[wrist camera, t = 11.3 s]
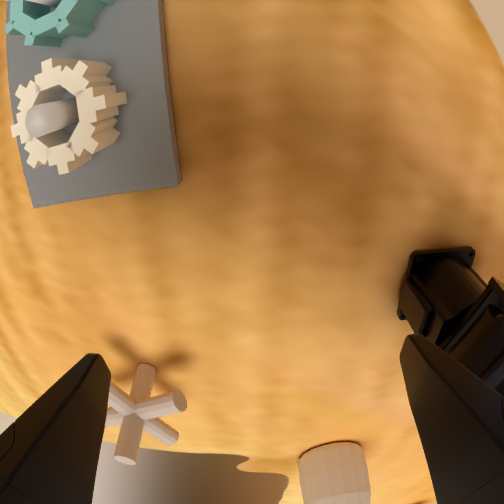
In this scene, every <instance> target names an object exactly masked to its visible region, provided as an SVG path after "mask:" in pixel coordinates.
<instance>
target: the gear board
mask: <svg viewBox="0 0 504 504" xmlns="http://www.w3.org/2000/svg"><path fill="white" fill-rule="evenodd" d="M26 1H31V2H35V3H39V4H43V5H47V6H50V13H51V12H53V11H55V10H56V8H57V7H58V5H59V4H60V2H61V1H62V0H26ZM9 21H10V2H7V14H6V24H7V23H8V22H9ZM91 26H92V27H93V29H94V31H93V32H92V33H91V34H89V35H88V36H87V37H86V38H83V37H77V36H69V37H67V38H64V39H62V43H61V46H60V47H48V46H30V45H24V42H25V38H26V36H25V35H10V34H7V33H6V45H7V66H8V79H9V89H10V98H11V105H12V113H13V119H14V124H17V123H18V122H17V116H16V114H17V113H19V112H21V111H20V110H19V109H17V107H18V105H19V103H20V100H21V99H19V98H18V97H17V96H16V95H15V93H16V91H17V89H18V87H19V85H20V84H23V83H29V82H30V80H32V79H35V77H34V76H35V75H37V74H40V73H42V66H41V62H43V61H45V60H48V59H50V58H69V59H78V61H79V60H86V61H100V62H105V63H106V64H108V65H109V66H111V67H112V68H111V70H110V71H109V73H108V74H107V77H108V78H110V79H111V80H113V81H112V83H111V84H110V85H115V87H116V93H120V92H126V97H127V104H122V105H118V110H119V115H116V116H113V117H115V118H116V119H117V120H118V121H117V122H116V124H115V125H114V127H113V128H114V129H116V130H117V131H118V132H120V135H119V136H118V138H117V139H116V141H115V142H114V143H113V144H111V145H109V146H107V147H105V148H103V149H102V150H100V151H98V152H96V153H94V154H92V158H93V159H91V160H89V161H88V162H86V163H84V164H83V165H81V166H79V167H78V168H76V169H74V170H73V171H71V172H69V173H66V174H61V175H59V173H58V168H57V165H53V166H49V164H46V165H44V164H42V165H40V166H39V167H37V168H35V169H34V168H33V167H32V166H30V165H29V164H28V163H27V160H28V157H29V155H30V153H29V152H27V151H26V150H25V149H24V147H25V145H26V143H23V144H21V139H20V135H18V136H16V137H17V142H18V147H19V152H20V157H21V161H22V165H23V170H24V174H25V178H26V182H27V186H28V189H29V193H30V197H31V200H32V204H33V207H34V208H38V207H43V206H49V205H54V204H59V203H65V202H71V201H76V200H82V199H88V198H95V197H101V196H107V195H114V194H121V193H128V192H135V191H143V190H151V189H159V188H167V187H176V186H179V184H180V183H181V181H182V177H181V170H180V163H179V156H178V149H177V141H176V134H175V126H174V118H173V109H172V101H171V92H170V82H169V72H168V62H167V51H166V39H165V26H164V11H163V0H115V2H114V5H113V6H105V7H104V8H103V9H102V11H101V12H100V13H99V14H98V16H97V17H96V18H95V20H94V21H93V23H92V24H91ZM78 123H79V115H78V108H77V101H76V96H75V95H73V94H72V93H70V92H69V91H68V90H66V91H65V92H64V94H63V96H62V98H61V99H60V100H59V101H54V102H49V103H44V104H39V105H35V106H33V107H32V108H30V110H29V111H28V113H27V115H26V119H25V126H26V129H27V131H28V133H29V134H30V135H31V136H33V137H40V136H43V135H46V134H48V133H51V132H54V131H57V130H59V129H62V128H63V129H64V130H66V131H67V132H68V133H70V134H71V135H72V134H73V132H74V130H75V128H76V127H77V125H78Z"/></svg>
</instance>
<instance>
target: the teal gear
mask: <svg viewBox="0 0 504 504" xmlns="http://www.w3.org/2000/svg"><path fill="white" fill-rule="evenodd" d="M5 2H10V21H9V22H8V23H7V24H6V25H5V26H4V28H5V30H6V33H7V34H10V35H25V36H26V38H25V42H24V45H30V46H48V47H60V46H61V43H62V39H64V38H67V37H69V36H77V37H83V38H86V37H87V36H88V35H89V34H91V33H92V32H93V31H94V29H93V27H92V26H91V24H92V23H93V21H94V20H95V18H96V17H97V16H98V14H99V13H100V12H101V11H102V9H103V8H104V7H105V6H113V5H114V2H115V0H62V1H61V2H60V4H59V5H58V7H57V8H56V10H55V11H53V12H51V13H50V6H47V5H43V4H39V3H35V2H31V1H26V0H5Z"/></svg>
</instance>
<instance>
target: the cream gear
mask: <svg viewBox="0 0 504 504" xmlns="http://www.w3.org/2000/svg"><path fill="white" fill-rule="evenodd" d="M41 66H42V73H40V74H37V75H35V76H34V77H35V79H32V80H30V82H29V83H23V84H20V85H19V87H18V89H17V91H16V93H15V95H16V96H17V97H18V98H19V99H21V100H20V103H19V105H18V107H17V109H19V110H20V111H21V112H19V113H17V114H16V116H17V122H18V123H17V124H14V125H12V126H11V131H12V137H15V136H18V135H20V139H21V144H23V143H26V145H25V147H24V149H25V150H26V151H27V152H29V153H30V155H29V157H28V160H27V163H28V164H29V165H30V166H32V167H33V168H34V169H35V168H37V167H39V166H40V165H42V164H44V165H46V164H49V166H53V165H57V168H58V173H59V175H61V174H66V173H69V172H71V171H73V170H74V169H76V168H78V167H79V166H81V165H83V164H84V163H86V162H88V161H89V160H91V159H93V158H92V154H94V153H96V152H98V151H100V150H102V149H103V148H105V147H107V146H109V145H111V144H113V143H114V142H115V141H116V139H117V138H118V136H119V135H120V132H118V131H117V130H116V129H114V128H113V127H114V125H115V124H116V122H117V121H118V120H117V119H116V118H115V117H113V116H116V115H119V110H118V105H122V104H127V97H126V92H120V93H116V87H115V85H110V84H111V83H112V81H113V80H111V79H110V78H108V77H107V74H108V73H109V71H110V70H111V68H112V67H111V66H109V65H108V64H106V63H105V62H100V61H86V60H79V61H78V59H69V58H50V59H48V60H45V61H43V62H41ZM66 90H68V91H69V92H70V93H72V94H73V95H75V96H76V101H77V108H78V115H79V123H78V125H77V127H76V128H75V130H74V132H73V134H72V135H71V134H70V133H68V132H67V131H66V130H64V129H63V128H62V129H59V130H57V131H54V132H51V133H48V134H46V135H43V136H40V137H33V136H31V135H30V134H29V133H28V131H27V129H26V126H25V119H26V115H27V113H28V111H29V110H30V108H32V107H33V106H35V105H39V104H44V103H49V102H54V101H59V100H60V99H61V98H62V96H63V94H64V92H65V91H66Z"/></svg>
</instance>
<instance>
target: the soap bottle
mask: <svg viewBox="0 0 504 504" xmlns="http://www.w3.org/2000/svg"><path fill="white" fill-rule="evenodd" d="M298 467H299V476H300V485H301V490H302V495H303V501H304V504H370V498H371V490H370V482H369V475H368V468H367V464H366V459H365V455H364V451H363V449H362V447H360V446H359V445H358V444H356V443H351V442H338V443H331V444H327V445H322V446H320V447H317V448H314V449H311V450H310V451H308V452H306V453H304V455H303V456H302V457H301V458H300V460H299V462H298Z"/></svg>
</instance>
